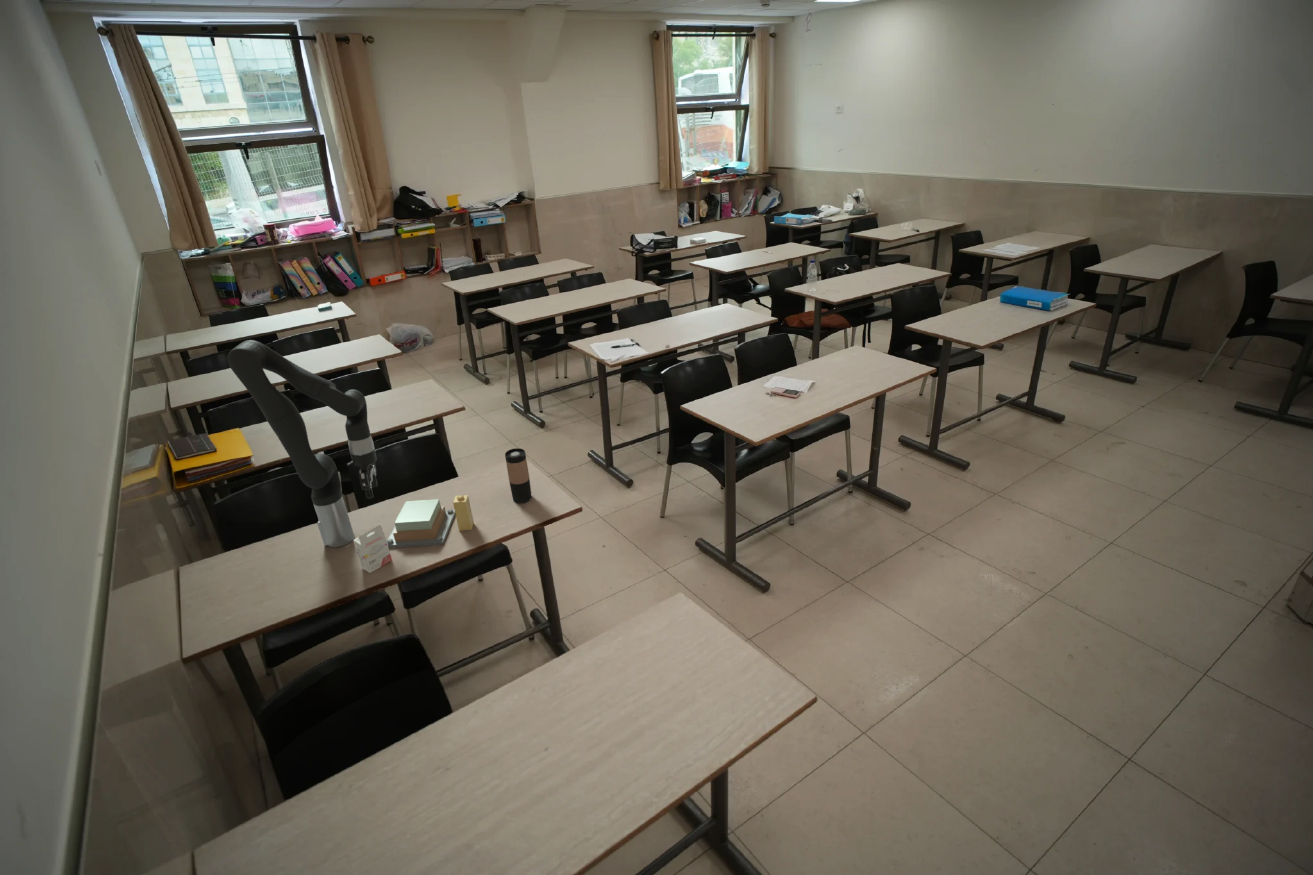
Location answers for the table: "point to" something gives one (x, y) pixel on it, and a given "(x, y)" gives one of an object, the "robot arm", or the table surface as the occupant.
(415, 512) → the layered square stand
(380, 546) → the ink cartridge box
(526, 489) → the travel mug
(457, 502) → the ochre brick
